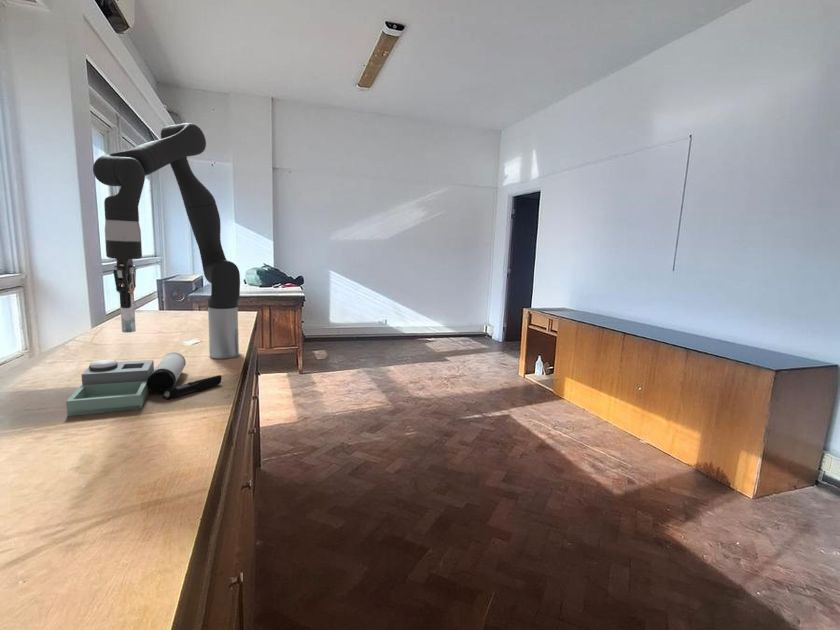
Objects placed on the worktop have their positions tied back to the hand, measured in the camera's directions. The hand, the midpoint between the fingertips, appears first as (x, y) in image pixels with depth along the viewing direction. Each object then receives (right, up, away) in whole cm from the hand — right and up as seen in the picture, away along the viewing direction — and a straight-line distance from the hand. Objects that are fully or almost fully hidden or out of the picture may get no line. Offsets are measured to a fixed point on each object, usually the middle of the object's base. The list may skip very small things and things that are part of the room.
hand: (127, 306), depth 111 cm
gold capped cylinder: (0, -7, +1) cm, 7 cm away
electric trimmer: (+15, -23, +4) cm, 28 cm away
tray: (+1, -24, -7) cm, 25 cm away
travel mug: (+2, -16, +18) cm, 24 cm away
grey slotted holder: (-4, -22, +3) cm, 22 cm away
